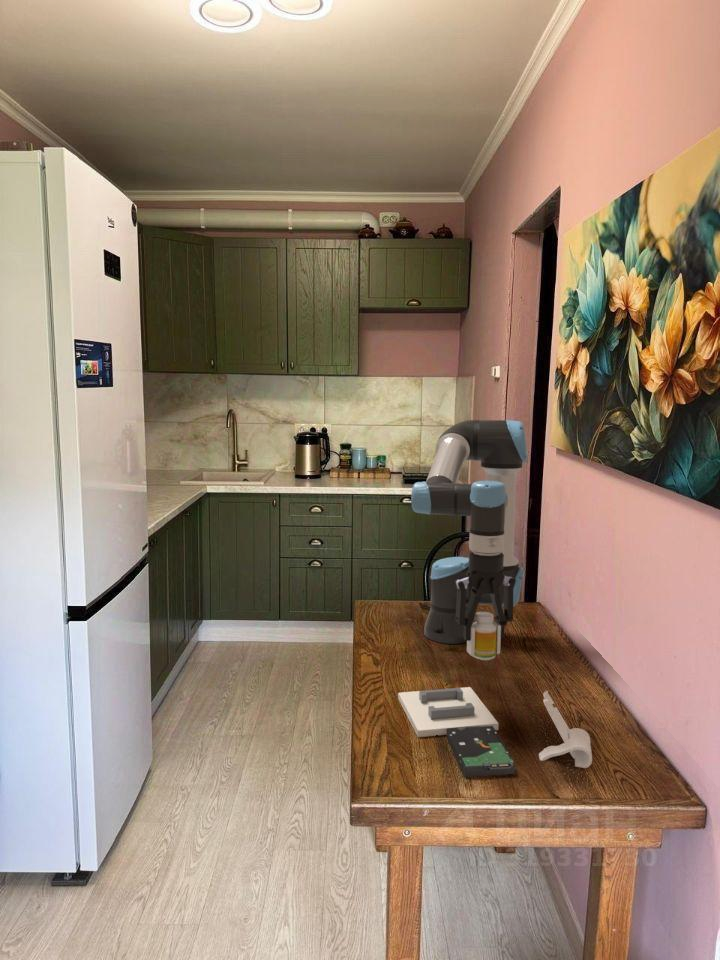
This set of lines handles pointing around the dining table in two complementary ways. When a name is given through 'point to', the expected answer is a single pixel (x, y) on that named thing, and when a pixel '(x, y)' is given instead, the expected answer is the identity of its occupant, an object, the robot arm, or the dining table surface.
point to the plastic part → (567, 739)
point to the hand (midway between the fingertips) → (483, 652)
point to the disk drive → (480, 751)
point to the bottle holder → (445, 710)
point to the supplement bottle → (485, 636)
